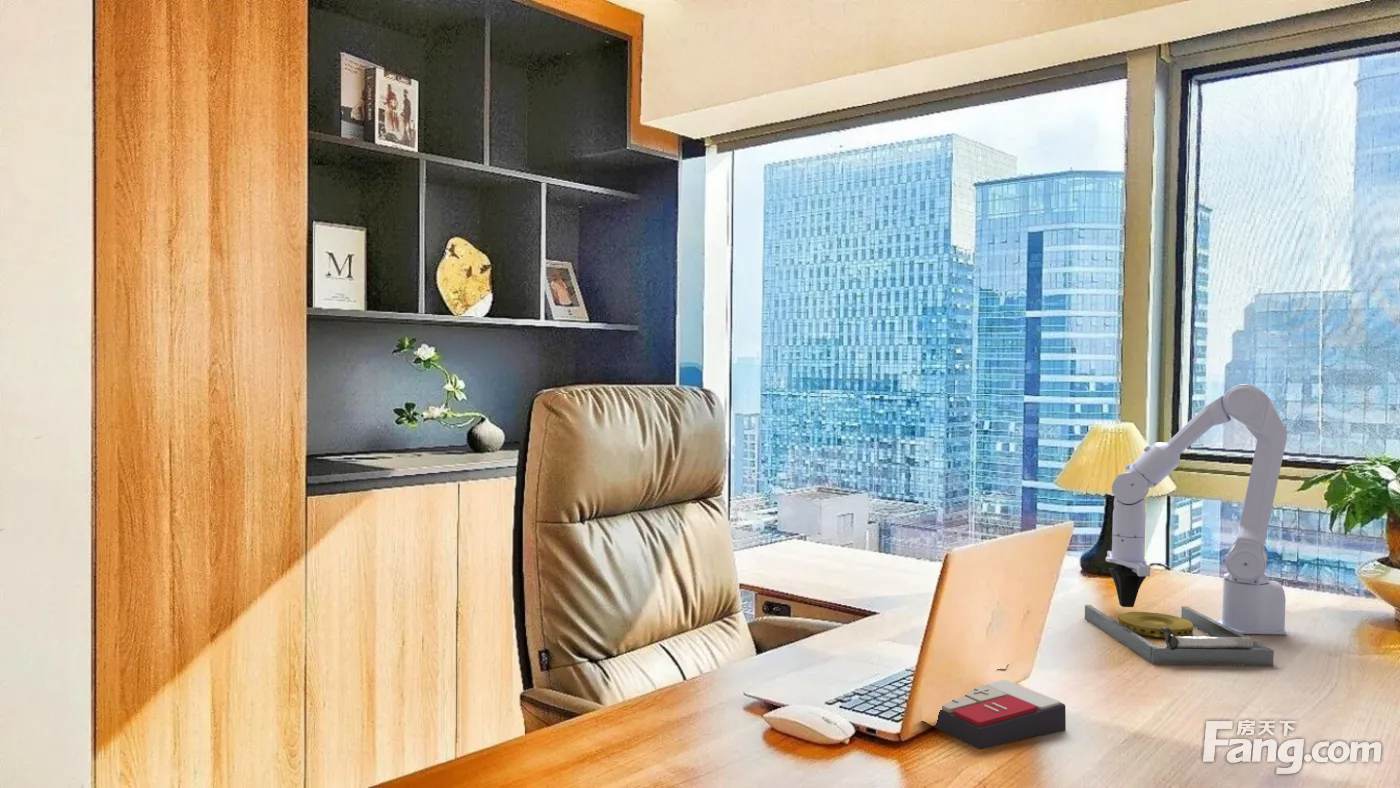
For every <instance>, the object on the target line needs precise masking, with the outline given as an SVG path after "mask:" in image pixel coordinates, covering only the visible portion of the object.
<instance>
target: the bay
mask: <svg viewBox="0 0 1400 788" xmlns="http://www.w3.org/2000/svg"><path fill="white" fill-rule="evenodd" d="M1180 618H1183V619H1186V620H1188V621H1190V622H1191V623H1192V624H1193V627H1194V626H1195V627H1194V628H1196V627H1197V628H1196V629H1198V630H1200V631H1201V630H1202V631H1201V632H1203V631H1204V633H1205V632H1206V633H1205V634H1207V633H1208V634H1207V635H1209V634H1210V635H1209V636H1189V637H1186V636H1174V635H1173V634H1170V628H1161V629H1160V630H1161V632H1166V638H1165V644H1166V646H1157V645H1155V644H1154V643H1152V642H1150V641H1148V640H1147V639H1145V638H1143V637H1142V636H1141V635H1138V634H1136V633H1134V632H1133V631H1131V630H1130V629H1128V628H1126V627H1125V626H1123V625H1121V624H1120V623H1119V621H1117V620H1115V619H1114V618H1113V617H1110V616H1109V615H1107V614H1106V613H1103V612H1102V611H1101V610H1099V609H1098V608H1096V607H1094V606H1093V605H1091V604H1085V605H1084V619H1085V620H1087V621H1088V622H1089V623H1091V624H1093V625H1094V626H1095V627H1097V628H1098V629H1100V630H1102V631H1103V632H1104V633H1105V634H1107V635H1110V636H1111V637H1112V638H1113V639H1115V640H1117V641H1118V642H1120V643H1121V644H1122V645H1124V646H1125V647H1126V648H1128V649H1130V650H1132V652H1135V653H1136V654H1137V655H1139V656H1141V657H1142V658H1143V659H1145V660H1146V661H1147V662H1149V663H1151V664H1152V665H1184V666H1185V665H1187V666H1189V665H1191V666H1192V665H1194V666H1195V665H1196V666H1197V665H1199V666H1201V665H1202V666H1263V667H1264V666H1265V667H1268V666H1269V667H1273V666H1274V663H1275V661H1274V659H1275V658H1274V657H1275V653H1274V652H1275V649H1272V648H1270V647H1268V646H1266V645H1264V644H1262V643H1260V642H1259V641H1258V640H1257V641H1256V640H1255V639H1253V638H1251V637H1248V636H1247V635H1246V634H1241V633H1239V632H1237V631H1235V630H1233V629H1231V628H1229V627H1227V626H1225V625H1223V624H1221V623H1219V622H1217V621H1215V620H1216V619H1213V618H1211V617H1209V616H1207V615H1205V614H1203V613H1201V612H1199V611H1197V610H1195V609H1193V608H1191V607H1189V606H1188V605H1187V606H1181V617H1180Z"/></svg>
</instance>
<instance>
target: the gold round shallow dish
mask: <svg viewBox="0 0 1400 788" xmlns="http://www.w3.org/2000/svg"><path fill="white" fill-rule="evenodd" d="M1118 623H1120V624H1121V625H1123V626H1125V627H1126V628H1128V629H1130V630H1131V631H1133V632H1134V633H1136V634H1138V635H1139V636H1141V635H1143V636H1148V637H1156V638H1164V639H1166V632H1161V630H1160V629H1161V628H1170V634H1173V635H1174V636H1186V637H1191V636H1192V635H1193V634H1194V632H1193V631H1194V626H1193V624H1192V623H1191V622H1190V621H1188V620H1186V619H1183V618H1181V617H1180V616H1175V615H1173V614H1172V615H1170V614H1165V613H1159V612H1147V611H1130V612H1124V613H1123V612H1122V613H1121V614H1119V615H1118Z"/></svg>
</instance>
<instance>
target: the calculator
mask: <svg viewBox="0 0 1400 788" xmlns="http://www.w3.org/2000/svg"><path fill="white" fill-rule="evenodd" d="M982 684H983V685H981V686H979V687H978V688H974V690H972V691H970V692H969V693H967V694H966V695H965V696H961V697H960V698H958V699H953V700H952V701H951V702H948V703H947V704H944V705H943V706H942V710H940V712H939V715H938V720H937V723H936V725H935V727H934V728H935V729H937V730H939V731H941V732H942V733H944V734H946V735H947V734H948V735H949V736H951V737H952V738H956V739H957V740H959V741H962V742H963V743H965V744H967V745H969V746H972V747H973V748H975V749H978V750H983V749H988V748H992V747H998V746H1002V745H1006V744H1011V743H1015V742H1020V741H1023V740H1026V739H1029V738H1032V737H1037V736H1039V735H1041V736H1046V735H1051V734H1055V733H1060V732H1064V731H1066V729H1067V726H1066V725H1067V724H1066V719H1067V718H1066V712H1067V711H1066V704H1065V703H1063V702H1061V701H1059V700H1058V699H1055V698H1053V697H1050V696H1048V695H1045V694H1042V693H1039V692H1038V691H1035V690H1032V689H1030V688H1027V687H1024V686H1022V685H1020V684H1017V683H1015V682H1013V681H1009V680H1006V679H1001V680H996V681H993V682H989V683H985V684H986V685H985V684H984V683H982Z"/></svg>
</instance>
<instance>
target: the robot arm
mask: <svg viewBox="0 0 1400 788" xmlns="http://www.w3.org/2000/svg"><path fill="white" fill-rule="evenodd" d="M1231 417H1232V418H1233V419H1235V420H1236V421H1238V422H1240V423H1241V424H1243V425H1244V426H1245V427H1246V429H1247V430H1248V431H1249V432H1250V433H1251V434H1252V436H1253V437H1254V438H1255V439H1256V445H1255V448H1254V455H1253V459H1252V464H1251V468H1250V474H1249V479H1248V482H1247V483H1248V484H1247V488H1246V493H1245V497H1244V502H1243V507H1242V512H1241V515H1240V521H1239V526H1238V530H1237V531H1238V532H1237V535H1236V539H1235V541H1234V542H1233V543H1232V544H1231V545H1230V547H1229V549H1228V551H1227V555H1226V558H1225V567H1226V570H1227V572H1226V573H1224V574H1223V581H1222V582H1223V585H1222V587H1223V589H1222V613H1221V614H1222V615H1221V616H1222V617H1221V618H1222V619H1214V620H1215V621H1217V622H1219V623H1221V624H1223V625H1225V626H1227V627H1229V628H1231V629H1233V630H1235V631H1237V632H1239V633H1241V634H1243V635H1246V634H1247V635H1288V632H1287V630H1286V629H1285V628H1286V626H1285V625H1286V624H1285V623H1286V601H1287V600H1286V594H1285V589H1284V587H1283V586H1282V584H1281V583H1279V582H1278V581H1276V580H1270V578H1269V576H1267V575H1266V574H1265V572H1266V570H1267V562H1268V554H1267V551H1266V547H1265V544H1266V539H1267V535H1268V531H1269V530H1268V529H1269V525H1270V520H1271V514H1272V510H1273V506H1274V502H1275V501H1274V500H1275V496H1276V490H1277V487H1278V481H1279V477H1280V473H1281V467H1282V464H1283V460H1284V459H1283V458H1284V454H1285V453H1284V452H1285V449H1286V444H1287V439H1288V430H1287V429H1286V426H1285V424H1284V422H1283V420H1282V419H1281V417H1280V415H1279V413H1278V411H1277V409H1276V407H1275V406H1274V403H1273V401H1272V400H1271V398H1270V397H1268V395H1267V394H1266V393H1265V392H1264V391H1262V390H1261V389H1260V388H1259V387H1257V386H1256V385H1253V384H1250V383H1242V384H1237V385H1235V386H1233V387H1231V388H1230V389H1228V390H1227V392H1226V393H1225V394H1222V395H1221V396H1219V397H1217V398H1215V399H1214V400H1213V401H1211V402H1209V403H1208V404H1207V405H1205V406H1204V407H1203V408H1201V410H1200V411H1198V412H1197V414H1196V415H1194V416H1193V417H1192V418H1191V419H1190V420H1189V421H1188V422H1187V423H1186V424H1185V425H1183V427H1182V428H1180V430H1178V431H1177V433H1175V435H1173V436H1172V438H1170V439H1169V440H1168V441H1166V442H1155V443H1154V444H1153V445H1150V444H1147V446H1145V447H1144V448H1143V451H1144V453H1142V454H1141V456H1139V458H1137V459H1136V460H1134V462H1133V463H1132V464H1130V463H1128V464H1127V465H1126V466H1125V467H1124V468H1125V470H1126V472H1122V473H1119V474H1118V475H1117V476H1116V478H1114V480H1113V482H1112V484H1111V492H1112V494H1113V496H1114V497H1113V499H1114V500H1113V510H1112V533H1111V534H1112V535H1111V538H1112V539H1111V540H1112V542H1111V550H1107V552H1106V553H1107V555H1106V557H1105V561H1106V562H1108V563H1113V564H1116V565H1117V566H1115V567H1109V568H1108V571H1109V573H1110V576H1111V577H1112V580H1113V582H1114V586H1115V590H1116V592H1117V599H1118V602H1119V605H1120V607H1122V608H1134V606H1135V603H1136V601H1137V596H1138V593H1139V590H1140V589H1141V586H1142V584H1143V582H1144V581H1145V580H1146V578H1147V577H1150V576H1151V565H1149V564H1148V562H1147V560H1146V559H1145V558H1146V557H1145V552H1146V550H1145V549H1146V517H1147V516H1146V510H1145V509H1146V506H1145V505H1146V499H1145V497H1146V496H1147V494H1148V493H1149V489H1150V488H1151V489H1153V488H1156V487H1157V485H1159V484H1160V483H1161V482H1162V481H1163V480H1164V479H1165V478H1167V477H1168V476H1169V475H1170V474H1171V473H1172V472H1173V471H1174V470H1176V469H1177V467H1179V466H1180V464H1181V458H1180V457H1181V454H1182V453H1183V452H1185V450H1186V449H1188V448H1189V447H1190V446H1191V445H1193V443H1195V442H1196V441H1198V440H1199V438H1201V437H1202V436H1203V435H1205V434H1206V433H1207V432H1208V431H1209V430H1210V429H1211V428H1213V427H1214V426H1218V425H1222V424H1225V423H1229V422H1231V421H1232V418H1231Z"/></svg>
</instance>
